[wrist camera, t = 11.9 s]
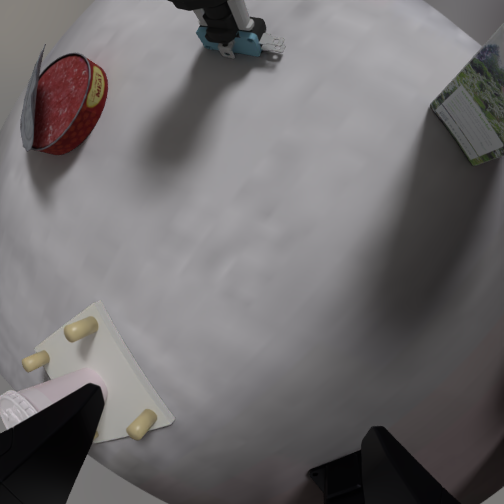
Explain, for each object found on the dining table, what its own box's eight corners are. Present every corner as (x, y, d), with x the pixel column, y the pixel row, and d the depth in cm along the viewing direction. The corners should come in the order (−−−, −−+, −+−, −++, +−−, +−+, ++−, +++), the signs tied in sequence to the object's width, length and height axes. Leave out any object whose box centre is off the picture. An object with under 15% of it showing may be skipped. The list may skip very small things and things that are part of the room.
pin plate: (175, 418, 23) (155, 444, 19) (99, 438, 25) (79, 457, 21) (101, 300, 23) (70, 310, 19) (40, 345, 25) (14, 356, 22)
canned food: (110, 156, 27) (34, 194, 19) (54, 125, 27) (-14, 154, 19) (138, 49, 21) (48, 55, 13) (72, 34, 21) (-6, 43, 13)
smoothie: (91, 417, 24) (0, 489, 10) (58, 362, 24) (-47, 417, 10) (132, 408, 22) (30, 502, 9) (94, 345, 23) (-32, 412, 9)
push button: (294, 29, 19) (281, -63, 9) (273, 80, 19) (245, -10, 10) (218, 18, 20) (175, -61, 10) (193, 65, 20) (132, -9, 10)
